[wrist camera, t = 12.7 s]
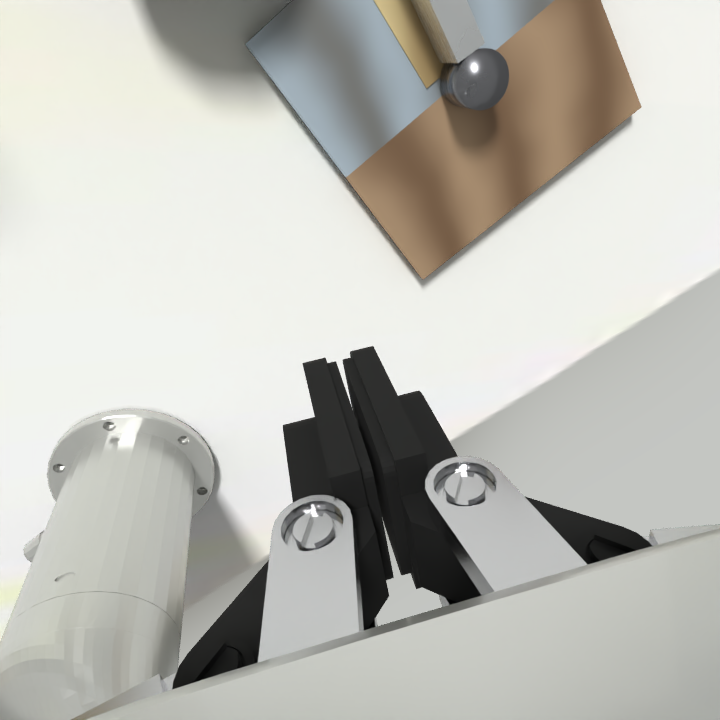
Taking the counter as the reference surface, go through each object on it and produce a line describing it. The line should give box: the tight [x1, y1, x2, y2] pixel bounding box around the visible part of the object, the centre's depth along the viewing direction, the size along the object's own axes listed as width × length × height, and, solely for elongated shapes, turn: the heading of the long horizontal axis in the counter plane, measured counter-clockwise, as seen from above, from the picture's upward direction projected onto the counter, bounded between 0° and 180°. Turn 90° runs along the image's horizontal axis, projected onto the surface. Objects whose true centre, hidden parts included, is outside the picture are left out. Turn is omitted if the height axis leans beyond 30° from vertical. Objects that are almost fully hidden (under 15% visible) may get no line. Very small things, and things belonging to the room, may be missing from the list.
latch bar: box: [411, 0, 509, 110], centre depth 30 cm, size 11×3×3 cm, turn 33°
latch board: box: [245, 0, 641, 279], centre depth 34 cm, size 19×19×1 cm
